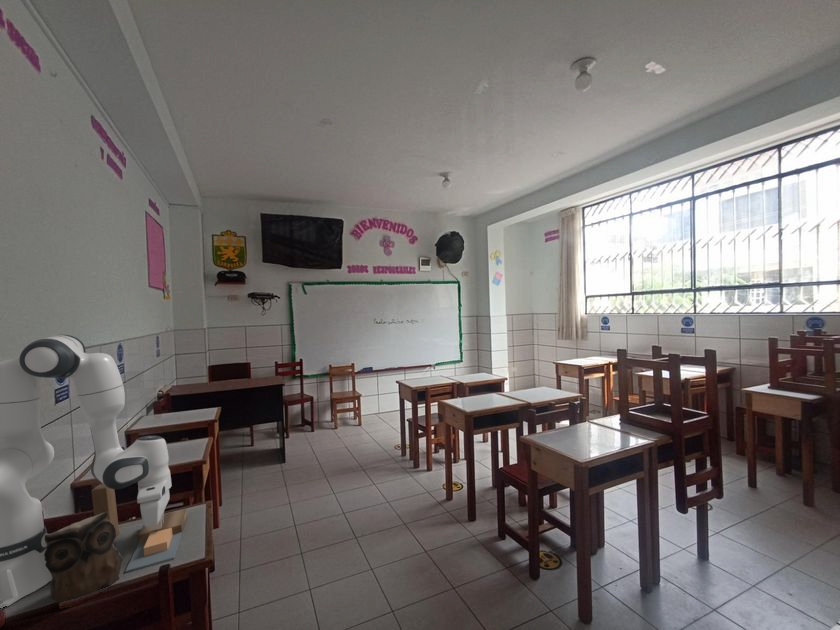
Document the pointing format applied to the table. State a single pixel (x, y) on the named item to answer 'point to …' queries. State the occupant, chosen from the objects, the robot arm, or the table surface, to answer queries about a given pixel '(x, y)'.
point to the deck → (166, 524)
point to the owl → (82, 558)
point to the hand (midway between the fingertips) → (159, 526)
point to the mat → (153, 555)
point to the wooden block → (105, 503)
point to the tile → (158, 541)
